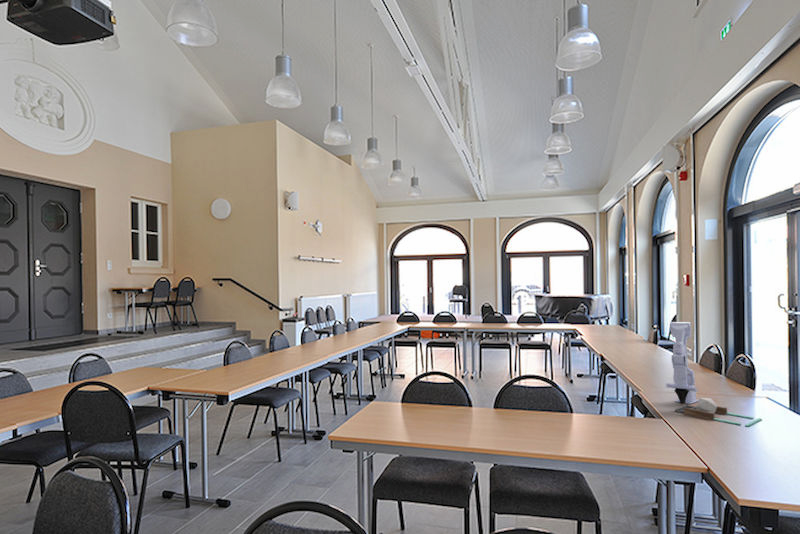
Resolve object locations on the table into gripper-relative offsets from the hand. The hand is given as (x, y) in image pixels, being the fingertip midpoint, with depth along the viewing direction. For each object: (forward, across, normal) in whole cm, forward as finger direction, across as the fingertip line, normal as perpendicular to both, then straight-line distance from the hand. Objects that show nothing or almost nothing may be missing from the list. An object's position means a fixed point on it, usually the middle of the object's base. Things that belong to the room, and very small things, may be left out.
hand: (682, 403), depth 237 cm
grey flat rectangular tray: (+3, +1, 0) cm, 4 cm away
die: (+4, +11, 0) cm, 12 cm away
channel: (+3, +11, 0) cm, 11 cm away
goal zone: (+3, +24, 0) cm, 25 cm away
